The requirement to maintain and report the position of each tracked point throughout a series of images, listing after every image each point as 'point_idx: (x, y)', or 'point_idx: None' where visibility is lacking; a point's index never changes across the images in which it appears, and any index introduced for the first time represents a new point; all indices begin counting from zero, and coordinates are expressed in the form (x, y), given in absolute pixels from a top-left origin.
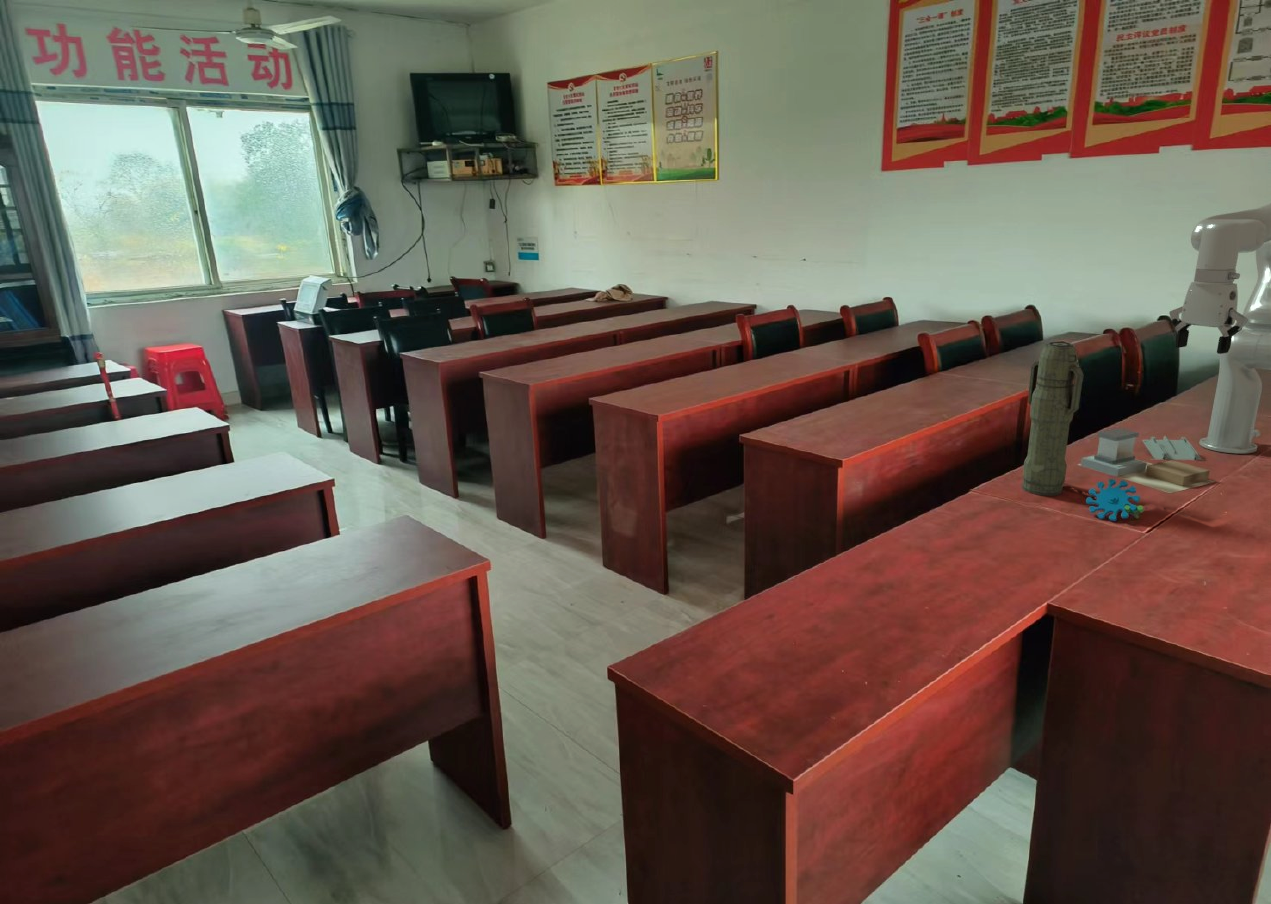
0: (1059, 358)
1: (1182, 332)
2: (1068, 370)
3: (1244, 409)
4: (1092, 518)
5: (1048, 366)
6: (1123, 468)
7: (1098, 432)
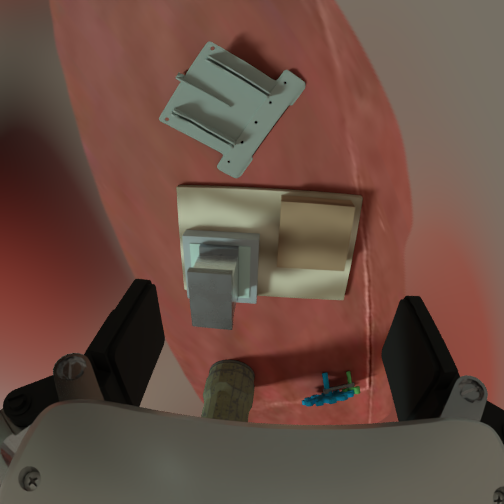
0: None
1: (133, 401)
2: None
3: None
4: None
5: None
6: (256, 292)
7: (193, 325)
